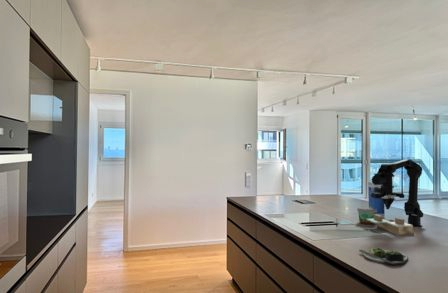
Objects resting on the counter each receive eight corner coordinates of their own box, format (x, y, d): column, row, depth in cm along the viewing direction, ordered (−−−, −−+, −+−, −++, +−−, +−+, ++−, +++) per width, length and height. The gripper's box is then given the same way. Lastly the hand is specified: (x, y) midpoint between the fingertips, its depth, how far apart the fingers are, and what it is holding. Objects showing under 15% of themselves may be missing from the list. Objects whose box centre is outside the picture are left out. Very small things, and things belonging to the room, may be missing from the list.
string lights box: (385, 218, 219) (384, 182, 220) (373, 218, 221) (373, 182, 221) (378, 214, 233) (378, 181, 233) (368, 214, 234) (367, 181, 234)
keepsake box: (391, 226, 197) (391, 219, 197) (413, 234, 177) (413, 226, 177) (376, 226, 196) (376, 219, 196) (397, 235, 176) (397, 227, 176)
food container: (356, 223, 204) (356, 208, 204) (357, 222, 209) (357, 207, 209) (377, 225, 198) (376, 210, 198) (377, 223, 204) (377, 208, 204)
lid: (402, 223, 187) (402, 216, 187) (412, 227, 178) (412, 220, 178) (387, 224, 186) (387, 217, 186) (397, 227, 177) (397, 220, 177)
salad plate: (352, 258, 139) (352, 248, 139) (366, 249, 152) (366, 240, 152) (400, 269, 125) (400, 258, 125) (410, 258, 138) (410, 248, 138)
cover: (381, 219, 196) (381, 213, 196) (390, 222, 187) (390, 216, 187) (366, 220, 195) (366, 214, 195) (375, 223, 186) (374, 217, 186)
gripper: (393, 182, 198) (393, 206, 198) (365, 183, 197) (366, 207, 196) (404, 184, 187) (405, 209, 187) (375, 184, 186) (376, 210, 185)
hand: (387, 209), depth 189 cm, fingers closed
